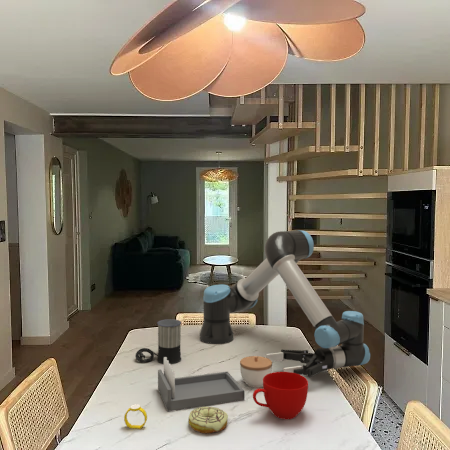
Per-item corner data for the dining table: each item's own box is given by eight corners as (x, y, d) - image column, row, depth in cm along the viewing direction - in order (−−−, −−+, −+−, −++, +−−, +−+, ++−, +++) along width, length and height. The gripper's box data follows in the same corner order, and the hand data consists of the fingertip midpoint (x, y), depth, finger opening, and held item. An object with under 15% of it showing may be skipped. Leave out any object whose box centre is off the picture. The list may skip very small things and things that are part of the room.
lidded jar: (270, 392, 142) (270, 363, 141) (237, 389, 144) (237, 361, 143) (273, 379, 152) (273, 352, 152) (242, 376, 154) (242, 350, 154)
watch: (124, 430, 118) (122, 409, 118) (126, 425, 121) (125, 404, 121) (146, 430, 118) (144, 408, 118) (148, 424, 121) (146, 403, 120)
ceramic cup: (242, 411, 129) (242, 377, 129) (291, 400, 136) (292, 368, 136) (264, 432, 117) (264, 395, 117) (316, 419, 124) (317, 385, 124)
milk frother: (186, 361, 169) (186, 322, 168) (149, 370, 159) (149, 330, 158) (166, 350, 180) (166, 315, 179) (131, 359, 170) (131, 321, 170)
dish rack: (158, 389, 144) (157, 356, 143) (227, 380, 151) (227, 348, 151) (167, 411, 128) (167, 374, 128) (244, 400, 136) (244, 365, 136)
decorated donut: (225, 437, 115) (225, 423, 115) (184, 434, 116) (184, 420, 116) (229, 417, 125) (229, 405, 125) (192, 415, 127) (192, 402, 126)
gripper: (349, 382, 145) (291, 391, 138) (310, 356, 168) (259, 363, 162) (350, 359, 145) (292, 367, 138) (311, 337, 168) (260, 342, 161)
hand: (274, 365), depth 150 cm, fingers open, 13 cm apart
